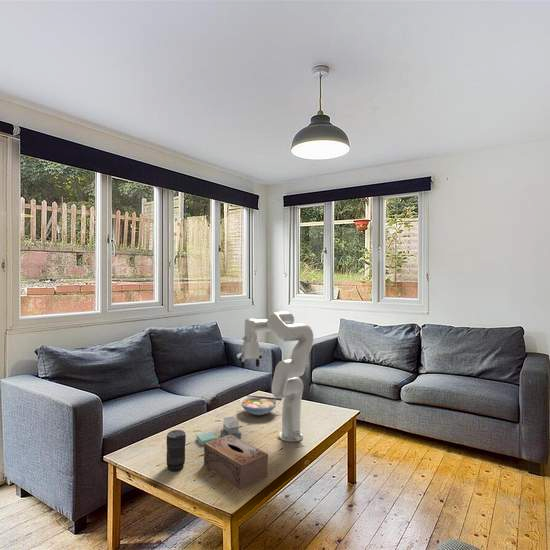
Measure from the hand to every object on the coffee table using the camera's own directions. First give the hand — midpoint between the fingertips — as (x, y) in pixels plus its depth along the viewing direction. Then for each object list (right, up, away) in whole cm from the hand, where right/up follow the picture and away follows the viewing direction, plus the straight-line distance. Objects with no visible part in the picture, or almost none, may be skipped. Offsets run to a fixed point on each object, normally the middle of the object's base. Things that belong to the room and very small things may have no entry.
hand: (249, 367), depth 233 cm
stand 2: (-8, -28, -32) cm, 44 cm away
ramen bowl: (+5, -29, +1) cm, 29 cm away
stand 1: (-19, -28, -39) cm, 51 cm away
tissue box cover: (-2, -29, -66) cm, 73 cm away
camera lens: (-28, -28, -65) cm, 76 cm away
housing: (-8, -26, -32) cm, 42 cm away
